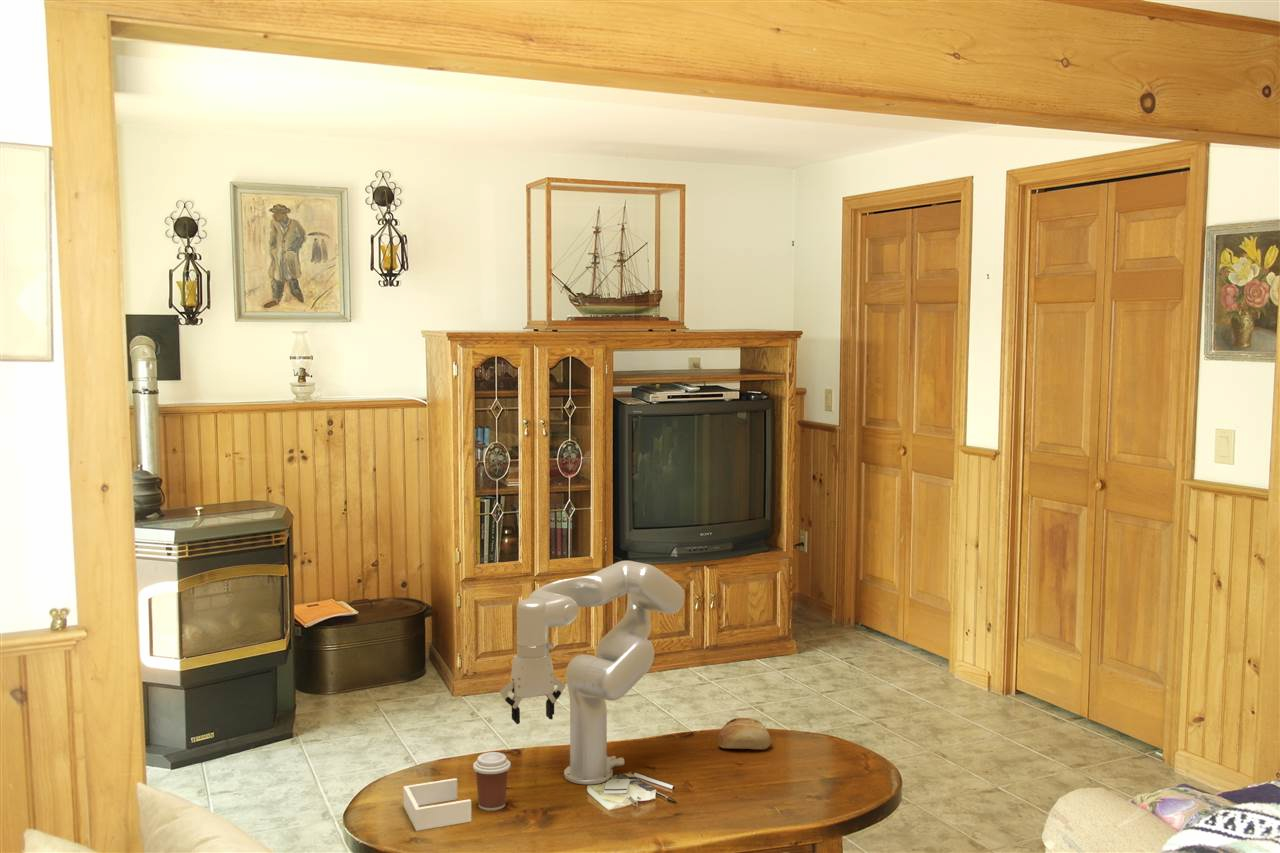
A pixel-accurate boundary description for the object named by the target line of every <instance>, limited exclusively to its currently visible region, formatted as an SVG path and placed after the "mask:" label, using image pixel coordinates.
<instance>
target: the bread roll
mask: <svg viewBox="0 0 1280 853" xmlns="http://www.w3.org/2000/svg"><path fill="white" fill-rule="evenodd" d="M716 739H717V740H716V741H717V744H718V746H719V747H720V748H722V749H735V750H737V749H738V750H762V751H763V750H767V749H768V748H769V747H770V746H771V744H772V739H771V735H770V733H769V731H768V729H767V728H766V726H765V725H764V724H763V723H762V722H760V721H759V720H757V719H755V718H751V717H738V718H737V717H736V718H732V719H730V720H729V721H727V722H726V723H725V724H724V725H723V727H722V728H721V729H720V731H719V734H718V736H717V738H716Z"/></svg>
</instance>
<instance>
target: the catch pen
mask: <svg viewBox="0 0 1280 853" xmlns="http://www.w3.org/2000/svg"><path fill="white" fill-rule="evenodd" d="M456 800H457V801H456ZM442 802H446V803H442ZM431 804H433V805H431ZM424 805H427V806H424ZM420 806H421V807H420ZM403 808H404V811H405V812H406V814H407V816H408V818H409V820H410V822H411V824H412V825H413V828H414V829H415V831H416V832H417V831H424V830H429V829H435V828H442V827H447V826H453V825H458V824H465V823H469V822H472V800H471V799H464V800H463V799H462V800H458V779H457V777H456V778H449V779H441V780H437V781H429V782H423V783H417V784H410V785H405V786H404V785H403Z"/></svg>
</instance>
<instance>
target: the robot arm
mask: <svg viewBox="0 0 1280 853" xmlns="http://www.w3.org/2000/svg"><path fill="white" fill-rule="evenodd" d="M625 595H627V603H626V611H625V614H624V616H623V618H621V619H620V620H619V622H618V623H616V625H614V627H613V628H611V629H610V630H609V631H608V632H607V633H606V634H605V635H604V636H603V637H602V638H601V639H600V641H599V642H598V644H597V646H596V650H595V653H596V656H594V655H592V654H579V655H576V656H574V657H573V658H572V659H571V660H570V661H569V662H568V664H567V667H566V672H565V680H566V683H565V682H563V681H562V680H560V679H558V678H557V677H555V676H554V675H555V674H554V666H553V661H552V660H553V659H552V656H551V653H550V650H552V649H554V643H551V642H549V628H555V627H557V628H558V627H559V628H560V627H566V626H569V625H571V624H572V623H574V621H575V620H576V619H577V617H578V616H579V610H580V609H579V608H594V607H601V606H605V605H606V604H609V603H610V602H612V601H614V600H616V599H619V598H620V597H623V596H625ZM685 598H686V596H685V591H684V589H683V587H682V586H681V585H680V583H678V582H677V581H675V580H674V579H673V578H671V577H670V576H669V575H667V573H664V572H663V571H661V570H660V568H657V567H655V566H654V565H652V564H647V563H643V562H637V561H633V560H620V561H617V562H615V563H613V564H611V565H609V566H605V567H604V568H602V569H600V570H597V571H596V572H593V573H590V574H587V575H582V576H576V577H572V578H566V579H565V578H564V579H561V580H557V581H553V582H550V583H548V584H545V585H543V586H541V587H538V588H537V589H535V590H533V591H532V592H531V593H530V594H529V595H528V597H527V598H525V599H522V600H520V601H519V602H518V603H517V605H516V646H517V647H516V650H517V652H516V653H517V654H514V656H513V659H512V665H511V674H510V675H511V676H510V682H509V683H507V684H506V686H504V687H502V689H500V691H499V694H500V696H501V697H502V698H503V700H504V701H505V702H506V703H507V704H509V706H511V720H512V721H513V722H514V723H515V724H516V725H520V723H521V717H520V716H521V715H520V714H521V713H520V711H521V710H520V707H519V705H520V703H521V701H522V700H523V699H527V698H536V697H543V696H546V698H547V700H546V701H545V716H546V717H547V718H548V719H549V720H553V716H554V715H555V704H556V703H557V700H558V698H559V697H560V696H561V695H562V692H564V689H565V688H566V686H567V690H568V696H569V697H568V698H569V742H570V743H569V748H570V749H569V756H570V757H569V765H568V766H567V767H565V769H564V771H563V776H564V778H565V780H567V781H569V782H570V783H573V784H577V785H578V784H579V785H596V784H603V783H605V782H607V781H609V780H610V779H611V778H612V777H613V776H614V775H613V772H614V770H613V768H614V767H619V766H620V767H621V766H625V759H624V757H618V758H617V756H616V755H612V756H608V755H607V752H608V751H607V748H608V747H607V746H608V745H607V742H608V741H607V738H608V735H607V733H608V732H607V731H608V728H607V727H608V726H607V725H608V724H607V723H608V721H607V720H608V718H607V717H608V711H607V710H608V708H607V703H606V702H607V701H611V702H612V701H617V700H620V699H621V698H623V697H624V696H625V695H626V694H628V692H629V691H630V690H631V689H632V688H633V687H634V686H635V685H636V684H637V683H638V682H639V681H640V680H641V679H642V678H643V677H644V676H645V675H646V674H647V673H648V671H649V670H650V669H651V667H652V665H653V662H654V658H655V648H654V645H653V643H652V642H651V641H650V640H649V639H648V638H649V637H650V635H651V631H652V623H651V622H652V621H651V620H652V619H651V611H653V612H656V613H657V612H658V613H662V614H667V615H674V614H676V613H677V612H680V610H681V609H682V608H683V606H684V603H685V600H686V599H685ZM566 684H567V685H566ZM555 685H556V686H557V688H556V689H555ZM509 692H511V693H512V694H513V696H512V697H510V696H509V695H508V694H509ZM609 778H610V779H609ZM608 779H609V780H608ZM606 780H607V781H606Z"/></svg>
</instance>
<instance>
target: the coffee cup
mask: <svg viewBox="0 0 1280 853" xmlns="http://www.w3.org/2000/svg"><path fill="white" fill-rule="evenodd" d="M476 759H477V760H476V761H475V762H473V765H472V770H474V772H475V775H476V785H477V786H476V788H477V797H478V807H479V809H480V810H483V811H489V812H490V811H499V810H502V809H504V808H505V807H506V798H507V797H506V796H507V795H506V794H507V787H508V786H507V783H508V772H509V770H510V769H511V761H510V760H509V759H507V756H506V754H504V753H503V752H496V751H490V752H484V753H481V754H479V755H478V756H477V758H476Z"/></svg>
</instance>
